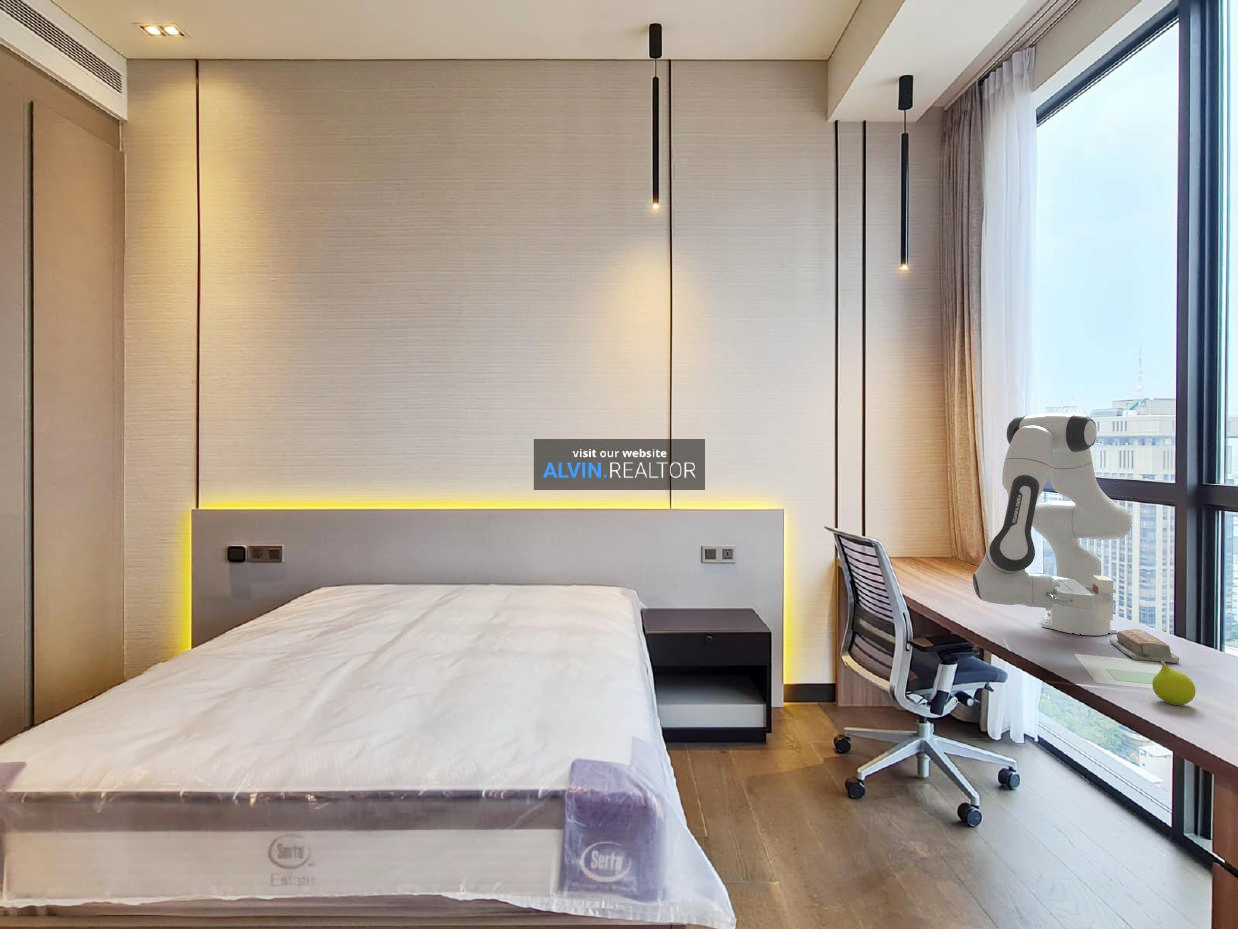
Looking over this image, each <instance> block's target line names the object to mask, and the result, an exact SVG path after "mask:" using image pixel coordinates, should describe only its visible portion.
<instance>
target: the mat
mask: <svg viewBox="0 0 1238 929" xmlns="http://www.w3.org/2000/svg"><path fill="white" fill-rule="evenodd" d="M1073 655H1074V656H1075V658H1076V659H1077V660H1078V662H1079V663H1080V664H1081V665H1082V667H1083V668H1084V669H1085V670H1086V671H1087V673H1088V674H1089V676H1091V678H1092V680H1094V682H1095V683H1096V684H1103V685H1113V686H1122V687H1132V688H1139V689H1151V690H1154V689H1153V685H1152V683H1153V679H1154V677H1155V676H1156V675H1157V674H1158V673H1159V672H1160V670H1161V669H1162V663H1161V662H1160V661H1147V660H1135V659H1133V658H1132V659H1131V658H1123V657H1112V656H1111V657H1110V656H1100V655H1091V654H1090V655H1089V654H1078V653H1073Z"/></svg>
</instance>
